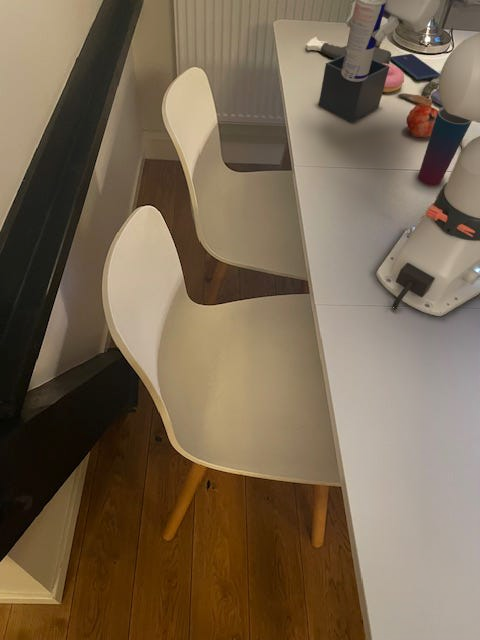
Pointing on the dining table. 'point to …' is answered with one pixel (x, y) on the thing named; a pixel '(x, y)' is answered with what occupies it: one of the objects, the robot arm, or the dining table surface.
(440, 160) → the cup
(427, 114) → the orange-red stemmed round figurine
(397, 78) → the doughnut
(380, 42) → the light bulb
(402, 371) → the dining table surface
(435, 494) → the dining table surface
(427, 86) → the knife
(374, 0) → the beverage can
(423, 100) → the stone
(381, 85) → the trash bin
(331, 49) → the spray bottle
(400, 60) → the smartphone
